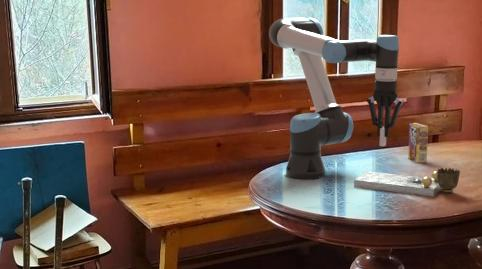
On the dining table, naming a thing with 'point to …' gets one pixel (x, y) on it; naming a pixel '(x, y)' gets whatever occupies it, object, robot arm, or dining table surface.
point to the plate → (396, 183)
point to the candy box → (418, 142)
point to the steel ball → (417, 181)
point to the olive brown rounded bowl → (448, 179)
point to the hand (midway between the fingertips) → (382, 145)
